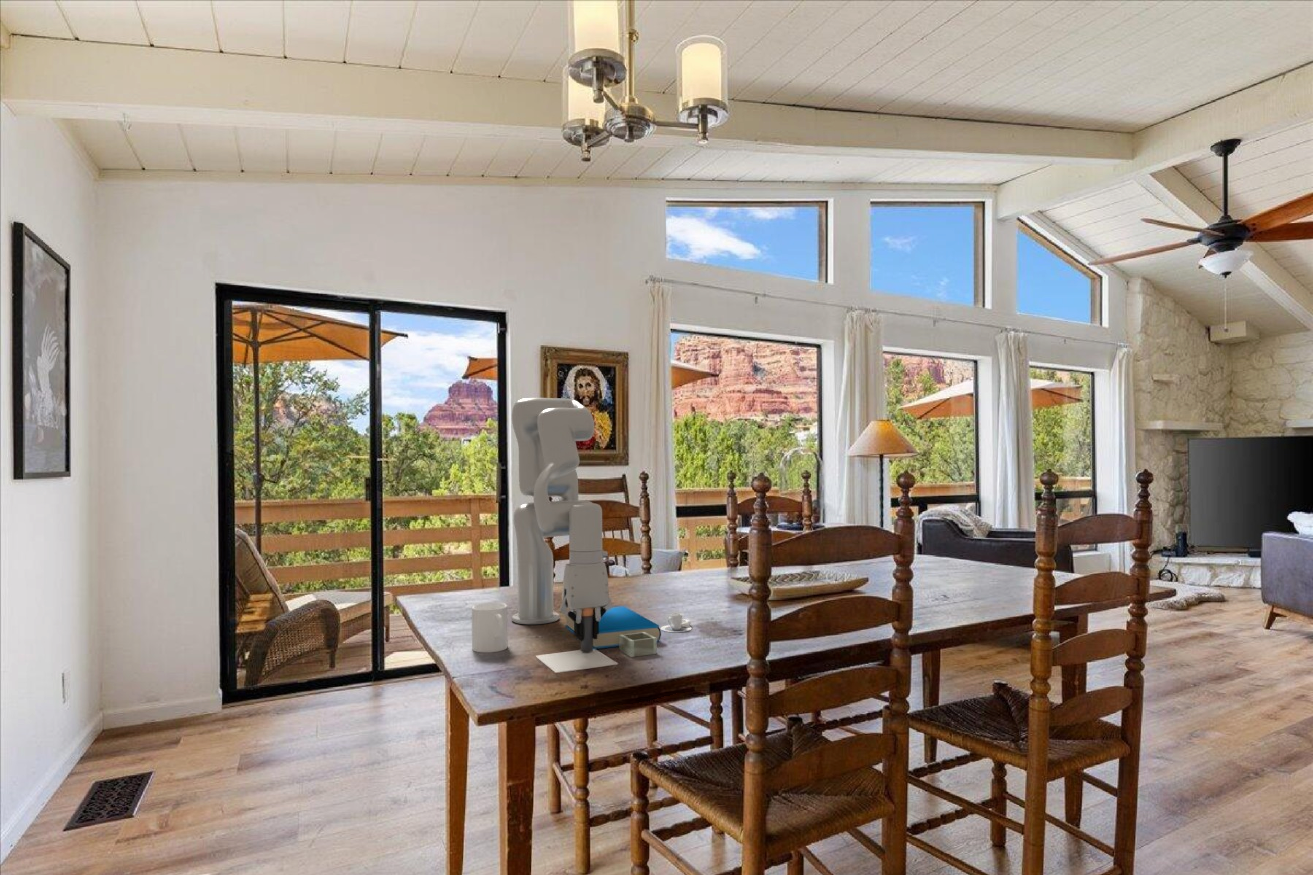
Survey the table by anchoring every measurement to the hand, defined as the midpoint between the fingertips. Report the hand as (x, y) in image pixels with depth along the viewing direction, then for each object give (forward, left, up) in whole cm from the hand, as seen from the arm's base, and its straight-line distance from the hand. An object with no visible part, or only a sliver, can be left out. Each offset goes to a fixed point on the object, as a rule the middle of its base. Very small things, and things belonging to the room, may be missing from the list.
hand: (586, 638), depth 176 cm
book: (-13, +12, -3) cm, 18 cm away
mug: (-12, -18, -4) cm, 22 cm away
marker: (0, 0, -3) cm, 3 cm away
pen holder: (+5, +11, -3) cm, 12 cm away
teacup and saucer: (-9, +31, -4) cm, 33 cm away
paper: (+5, -4, -3) cm, 7 cm away
